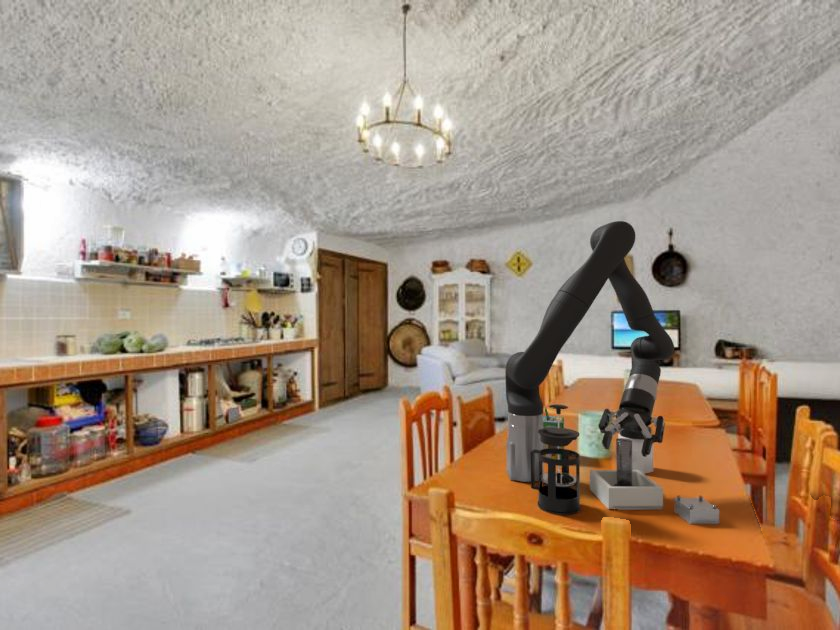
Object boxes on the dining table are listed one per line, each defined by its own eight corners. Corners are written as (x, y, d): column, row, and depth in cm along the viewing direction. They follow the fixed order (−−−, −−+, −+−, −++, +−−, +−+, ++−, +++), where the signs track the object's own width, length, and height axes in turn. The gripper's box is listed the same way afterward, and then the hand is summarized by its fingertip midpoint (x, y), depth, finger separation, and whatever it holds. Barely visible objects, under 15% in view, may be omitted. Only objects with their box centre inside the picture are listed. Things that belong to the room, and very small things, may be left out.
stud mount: (689, 523, 96) (689, 505, 96) (674, 511, 102) (674, 494, 102) (719, 523, 96) (719, 505, 96) (701, 511, 102) (701, 494, 102)
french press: (589, 505, 106) (588, 404, 106) (576, 520, 98) (575, 411, 98) (539, 493, 113) (539, 399, 113) (523, 506, 105) (523, 405, 105)
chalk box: (564, 462, 137) (564, 412, 137) (532, 459, 140) (532, 410, 140) (565, 453, 145) (564, 406, 145) (535, 450, 148) (534, 404, 148)
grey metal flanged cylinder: (618, 499, 107) (618, 443, 107) (611, 491, 112) (610, 437, 112) (638, 499, 107) (638, 442, 107) (630, 491, 112) (629, 437, 112)
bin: (608, 509, 103) (608, 488, 103) (589, 489, 115) (589, 470, 115) (663, 509, 103) (662, 488, 103) (638, 489, 115) (638, 470, 115)
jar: (616, 470, 129) (616, 427, 129) (619, 462, 136) (619, 421, 136) (652, 476, 124) (652, 431, 124) (654, 467, 131) (654, 425, 131)
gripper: (606, 384, 121) (590, 436, 112) (667, 390, 111) (654, 448, 103) (613, 401, 125) (598, 453, 116) (672, 408, 115) (660, 466, 107)
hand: (624, 451), depth 110 cm, fingers open, 8 cm apart
